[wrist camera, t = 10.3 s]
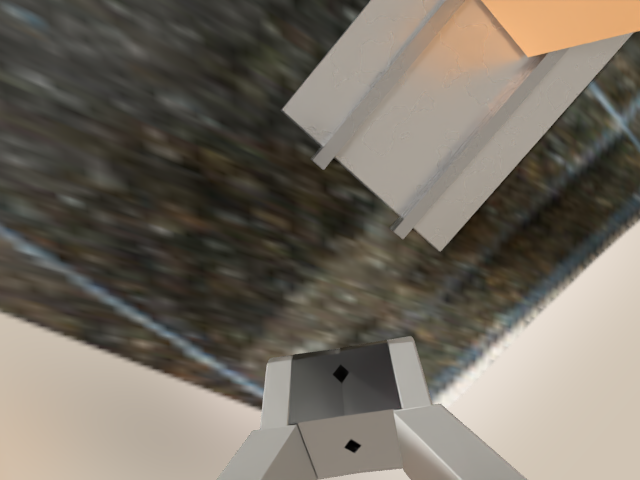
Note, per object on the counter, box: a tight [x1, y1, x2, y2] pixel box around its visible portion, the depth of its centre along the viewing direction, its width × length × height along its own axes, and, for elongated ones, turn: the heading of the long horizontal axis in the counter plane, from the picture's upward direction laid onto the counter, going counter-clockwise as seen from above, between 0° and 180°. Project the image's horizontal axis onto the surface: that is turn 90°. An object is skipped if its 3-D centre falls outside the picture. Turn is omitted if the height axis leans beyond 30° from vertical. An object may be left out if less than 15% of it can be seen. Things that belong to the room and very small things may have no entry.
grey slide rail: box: [281, 0, 634, 252], centre depth 23 cm, size 22×13×6 cm, turn 139°
